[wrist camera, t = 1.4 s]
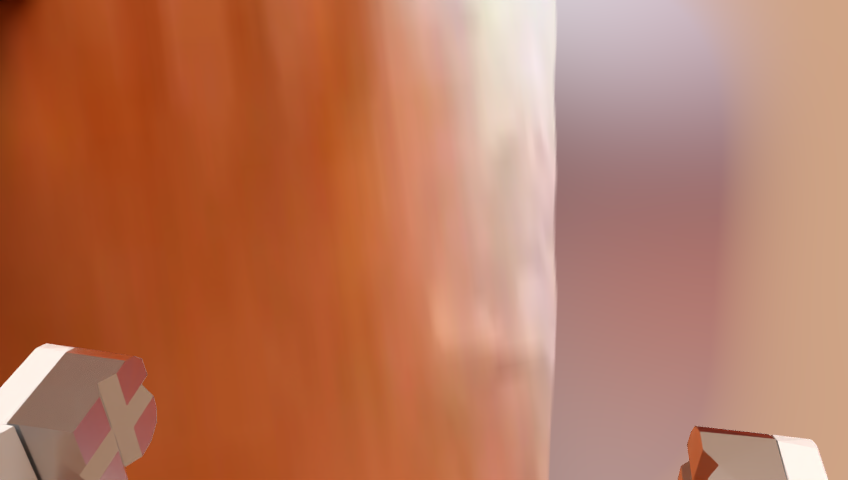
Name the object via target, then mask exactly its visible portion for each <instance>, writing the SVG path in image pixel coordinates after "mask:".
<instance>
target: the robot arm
mask: <svg viewBox="0 0 848 480" xmlns="http://www.w3.org/2000/svg"><path fill="white" fill-rule="evenodd" d="M146 376H147V372H146V369H145V366H144V363H143V361H142V359H141V358H138V357H135V356H130V355H124V354H117V353H111V352H104V351H97V350H91V349H84V348H78V347H75V348H74V347H68V346H61V345H54V344H48V343H46V344H44V345H42V346H40V347H37V348H36V349H35V350H34V351H33V352H32V353H31V354H30V355H29V356H28V357H27V359H26V360H25V361H24V362H23V363H22V364H21V365H20V366H19V368H18V369H17V370H16V371H15V372H14V373H13V374H12V375H11V376H10V378H9V379H8V380H7V381H6V382H5V383H4V384H3V385H2V387H1V388H0V480H128V478H127V472H126V466H127V465H129V464H131V463H132V462H134V461H135V460H137V459H139V458H140V457H142V456H143V454H144V452H145V451H146V449H147V447H148V445H149V444H150V442H151V440H152V436H153V433H154V429H155V426H156V422H157V416H156V404H155V400H154V396H153V395H152V394H151V393H150V392H149V391H148V390H147V389H146V388H145V387H144V386H143V385H142V382H143V381H144V379H145V378H146ZM687 447H688V454H689V461H688V462H687V463H685V464H684V465H682V466H681V468H680V473H679V476H678V480H828V477H827V474H826V471H825V468H824V465H823V462H822V459H821V456H820V453H819V450H818V447H817V445H816V444H815V443H814V442H813V441H812V440H811V439H803V438H795V437H787V436H778V435H771V436H770V435H768V434H762V433H752V432H744V431H736V430H735V431H734V430H726V429H718V428H709V427H701V426H695V427H694V428H693V430H692V431H691V434H690V437H689V440H688V444H687Z"/></svg>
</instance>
